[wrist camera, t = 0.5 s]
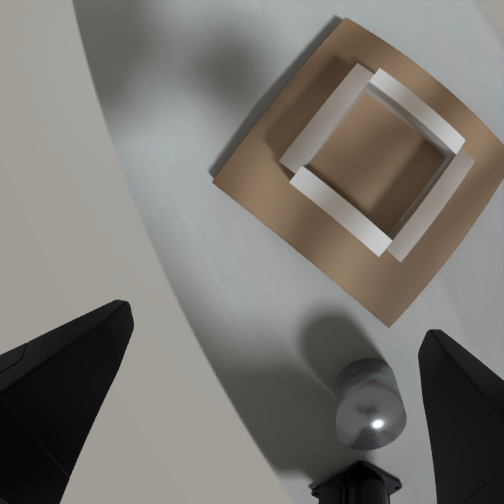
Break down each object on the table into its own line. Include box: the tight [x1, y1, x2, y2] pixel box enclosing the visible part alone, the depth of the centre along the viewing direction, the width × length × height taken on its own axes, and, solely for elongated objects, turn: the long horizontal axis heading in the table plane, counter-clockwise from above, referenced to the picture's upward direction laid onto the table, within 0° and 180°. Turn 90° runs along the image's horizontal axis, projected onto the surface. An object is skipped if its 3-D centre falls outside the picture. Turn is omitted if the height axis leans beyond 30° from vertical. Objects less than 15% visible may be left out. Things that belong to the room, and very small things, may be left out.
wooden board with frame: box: [212, 18, 504, 328], centre depth 17 cm, size 15×15×3 cm
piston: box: [336, 359, 407, 450], centre depth 19 cm, size 4×4×5 cm
